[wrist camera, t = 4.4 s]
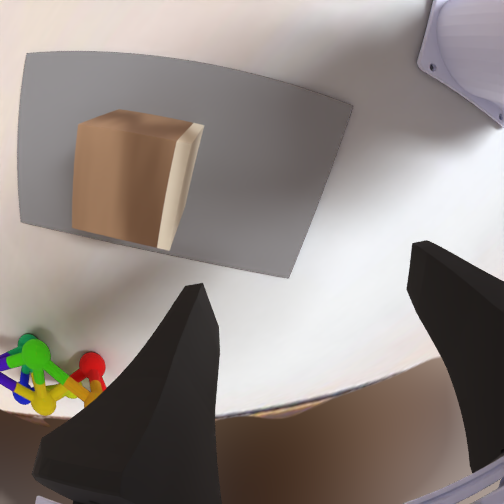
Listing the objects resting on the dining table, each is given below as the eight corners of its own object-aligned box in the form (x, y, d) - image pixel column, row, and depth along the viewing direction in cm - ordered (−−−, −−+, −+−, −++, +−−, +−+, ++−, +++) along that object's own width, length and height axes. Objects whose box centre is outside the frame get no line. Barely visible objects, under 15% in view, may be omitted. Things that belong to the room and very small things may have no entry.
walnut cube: (191, 144, 11) (78, 124, 10) (169, 250, 14) (72, 227, 13) (204, 125, 16) (119, 109, 15) (185, 206, 18) (107, 189, 17)
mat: (351, 105, 16) (353, 105, 15) (288, 275, 22) (288, 278, 21) (29, 52, 12) (26, 53, 12) (22, 220, 18) (20, 222, 18)
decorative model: (126, 436, 28) (2, 420, 21) (122, 365, 33) (8, 350, 27) (134, 418, 19) (-45, 389, 13) (130, 315, 24) (-27, 292, 18)
